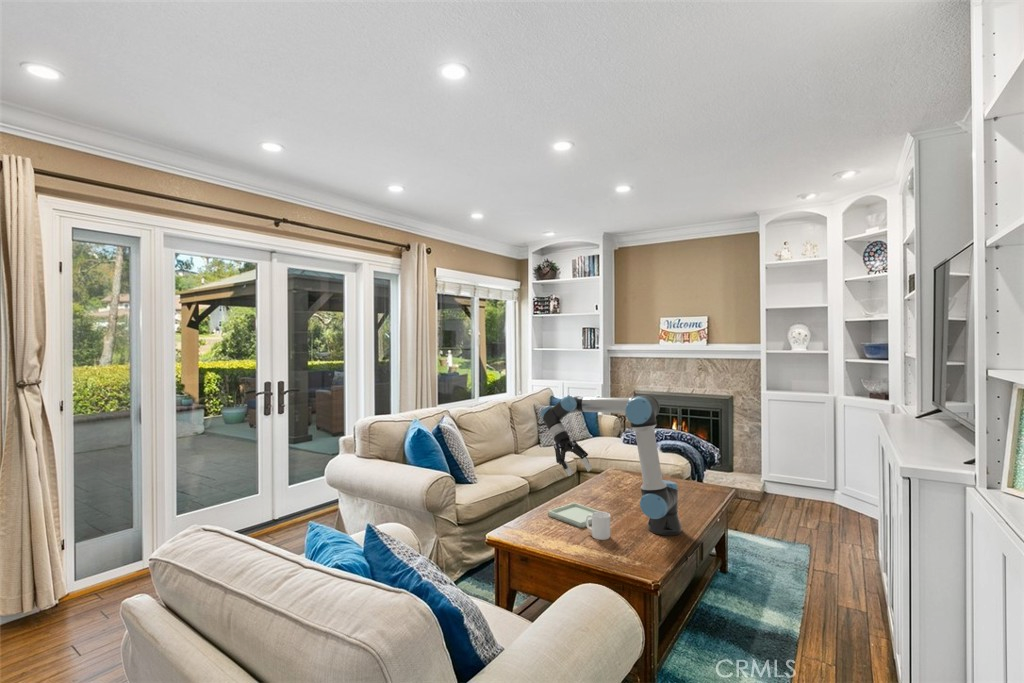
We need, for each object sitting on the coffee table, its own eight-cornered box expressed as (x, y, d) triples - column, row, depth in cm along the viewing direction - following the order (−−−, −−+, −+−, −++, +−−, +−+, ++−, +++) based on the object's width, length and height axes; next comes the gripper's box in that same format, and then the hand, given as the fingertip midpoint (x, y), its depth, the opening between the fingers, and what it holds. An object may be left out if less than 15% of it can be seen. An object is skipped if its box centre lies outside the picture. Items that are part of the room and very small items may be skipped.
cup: (604, 541, 226) (604, 519, 226) (581, 535, 234) (581, 513, 234) (613, 536, 233) (613, 514, 233) (590, 529, 240) (590, 508, 240)
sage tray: (607, 518, 255) (607, 513, 255) (580, 528, 242) (580, 522, 242) (574, 507, 272) (574, 502, 272) (547, 515, 259) (547, 510, 259)
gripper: (572, 436, 263) (593, 472, 252) (537, 441, 247) (557, 480, 236) (581, 428, 259) (602, 464, 248) (545, 433, 243) (566, 472, 232)
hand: (580, 472), depth 242 cm, fingers open, 13 cm apart
